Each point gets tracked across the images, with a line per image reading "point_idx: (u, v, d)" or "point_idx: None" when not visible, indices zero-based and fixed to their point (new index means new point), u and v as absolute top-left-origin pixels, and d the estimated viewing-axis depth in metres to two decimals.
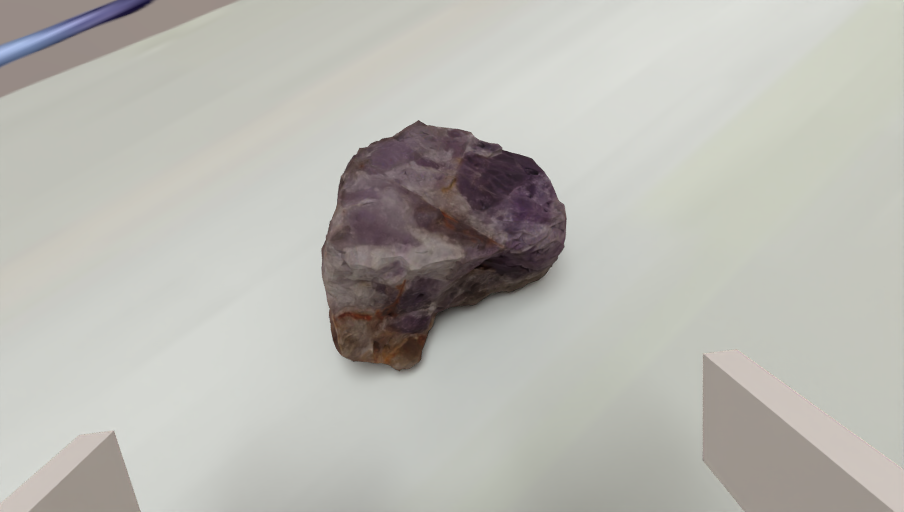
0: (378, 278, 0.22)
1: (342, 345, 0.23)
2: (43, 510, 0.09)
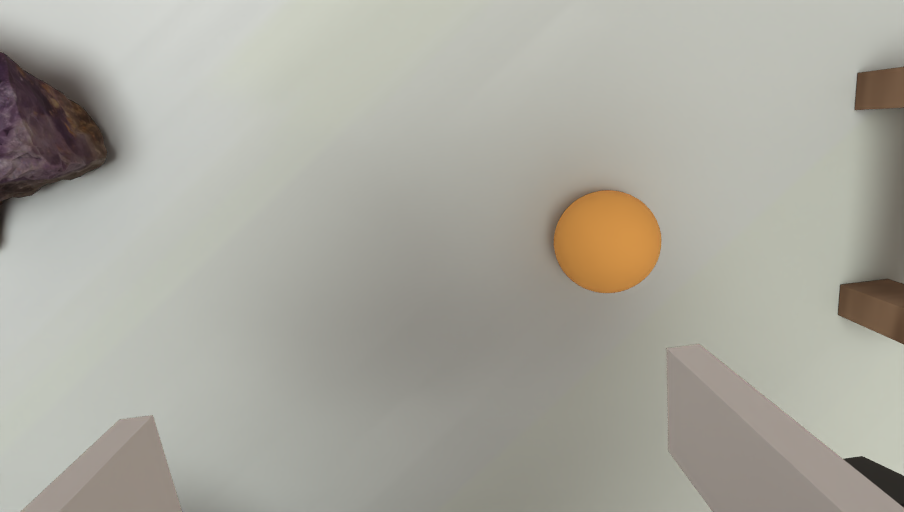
0: None
1: None
2: (93, 488, 0.09)
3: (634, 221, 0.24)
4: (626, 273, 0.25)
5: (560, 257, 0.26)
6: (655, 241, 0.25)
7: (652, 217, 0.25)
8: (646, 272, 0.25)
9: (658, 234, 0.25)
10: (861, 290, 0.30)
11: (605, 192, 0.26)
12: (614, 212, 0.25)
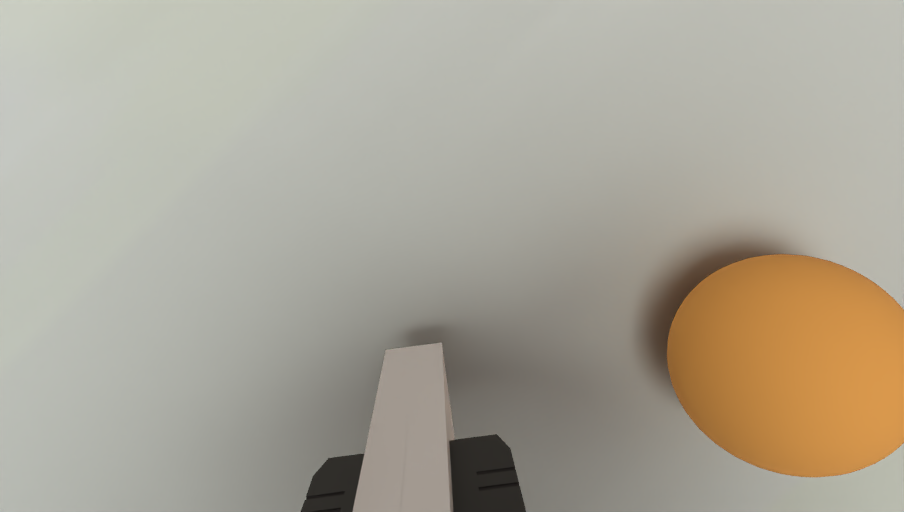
0: None
1: None
2: (412, 394, 0.11)
3: (891, 342, 0.10)
4: (866, 457, 0.11)
5: (693, 399, 0.12)
6: None
7: None
8: (898, 445, 0.11)
9: None
10: None
11: (795, 263, 0.12)
12: (841, 318, 0.11)
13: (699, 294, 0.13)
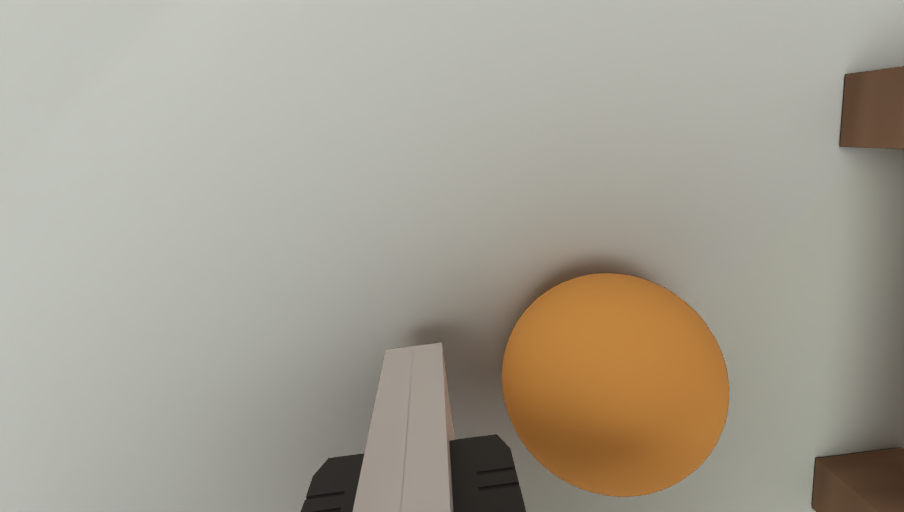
0: None
1: None
2: (412, 393, 0.11)
3: None
4: None
5: None
6: None
7: None
8: None
9: None
10: (852, 482, 0.16)
11: (602, 275, 0.13)
12: None
13: (677, 323, 0.11)
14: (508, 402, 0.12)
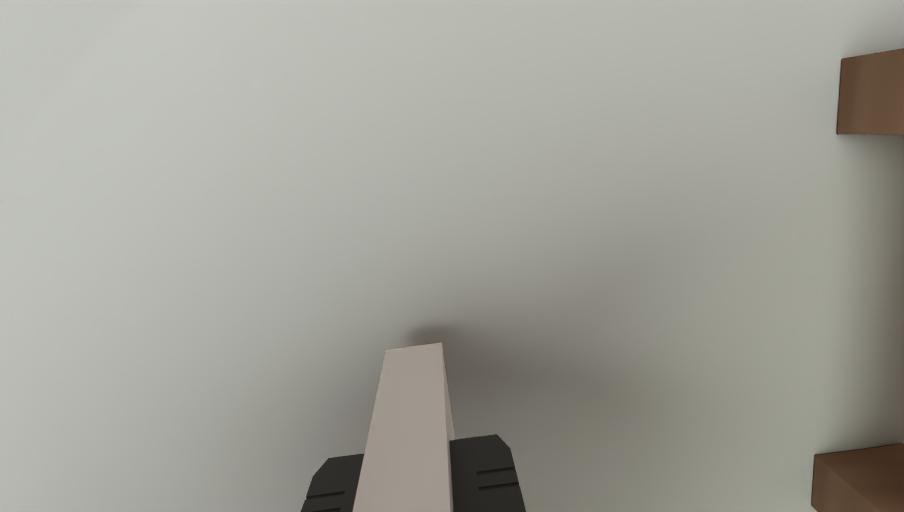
0: None
1: None
2: (412, 394, 0.11)
3: None
4: None
5: None
6: None
7: None
8: None
9: None
10: (852, 480, 0.16)
11: None
12: None
13: None
14: None
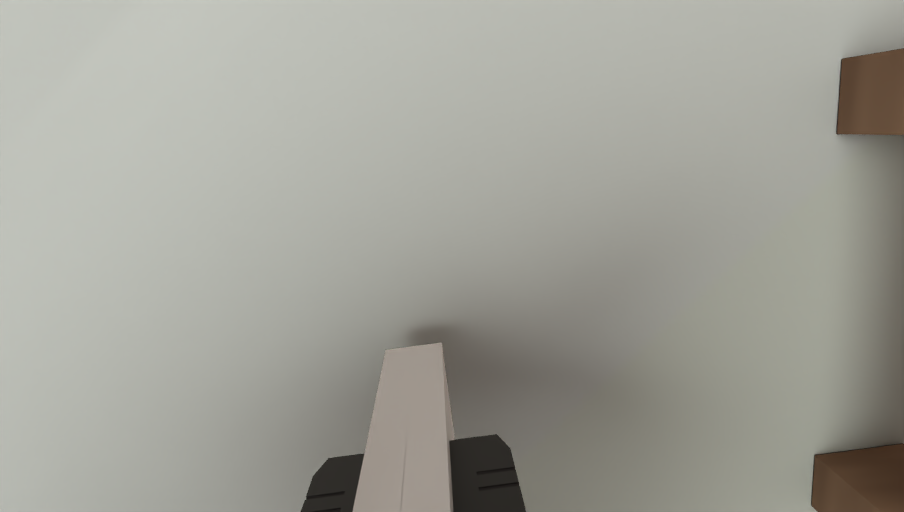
0: None
1: None
2: (412, 394, 0.11)
3: None
4: None
5: None
6: None
7: None
8: None
9: None
10: (852, 480, 0.16)
11: None
12: None
13: None
14: None
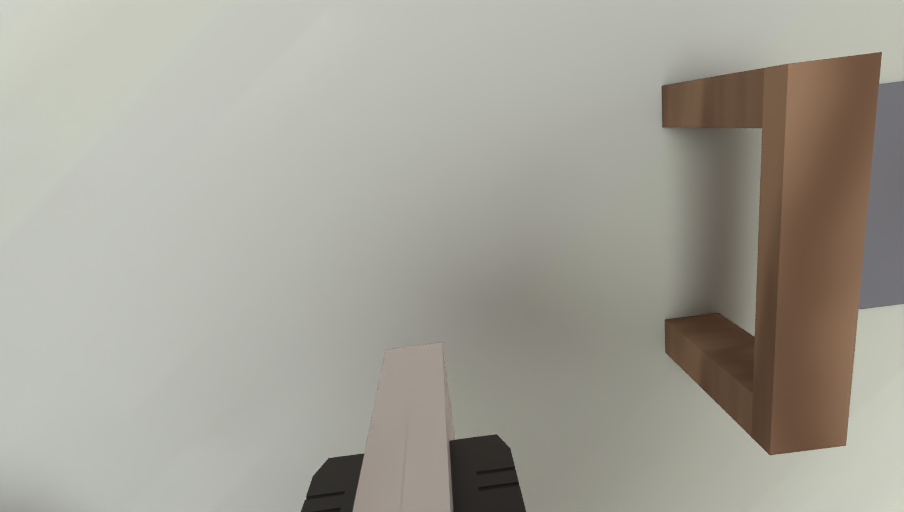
0: None
1: None
2: (412, 393, 0.11)
3: None
4: None
5: None
6: None
7: None
8: None
9: None
10: (680, 328, 0.27)
11: None
12: None
13: None
14: None
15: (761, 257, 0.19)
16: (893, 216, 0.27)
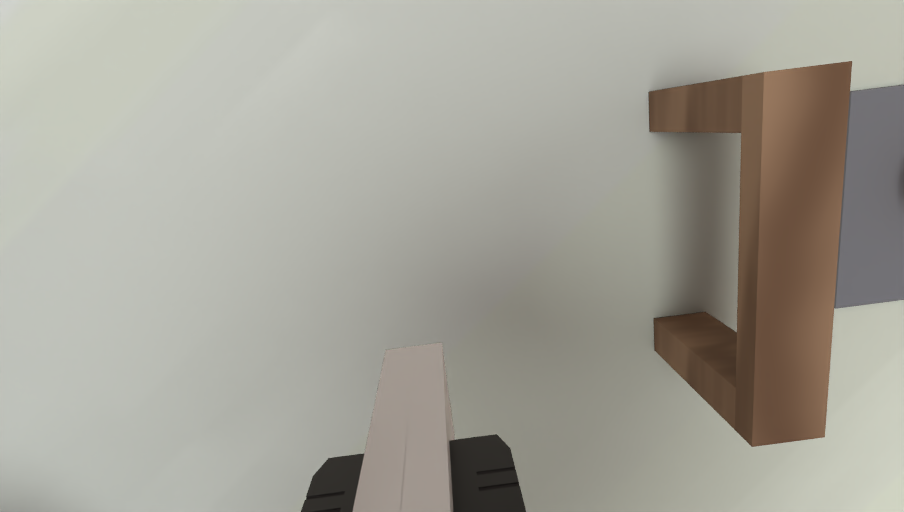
0: None
1: None
2: (412, 393, 0.11)
3: None
4: None
5: None
6: None
7: None
8: None
9: None
10: (667, 326, 0.28)
11: None
12: None
13: None
14: None
15: (742, 256, 0.19)
16: (872, 218, 0.28)
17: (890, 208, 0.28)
